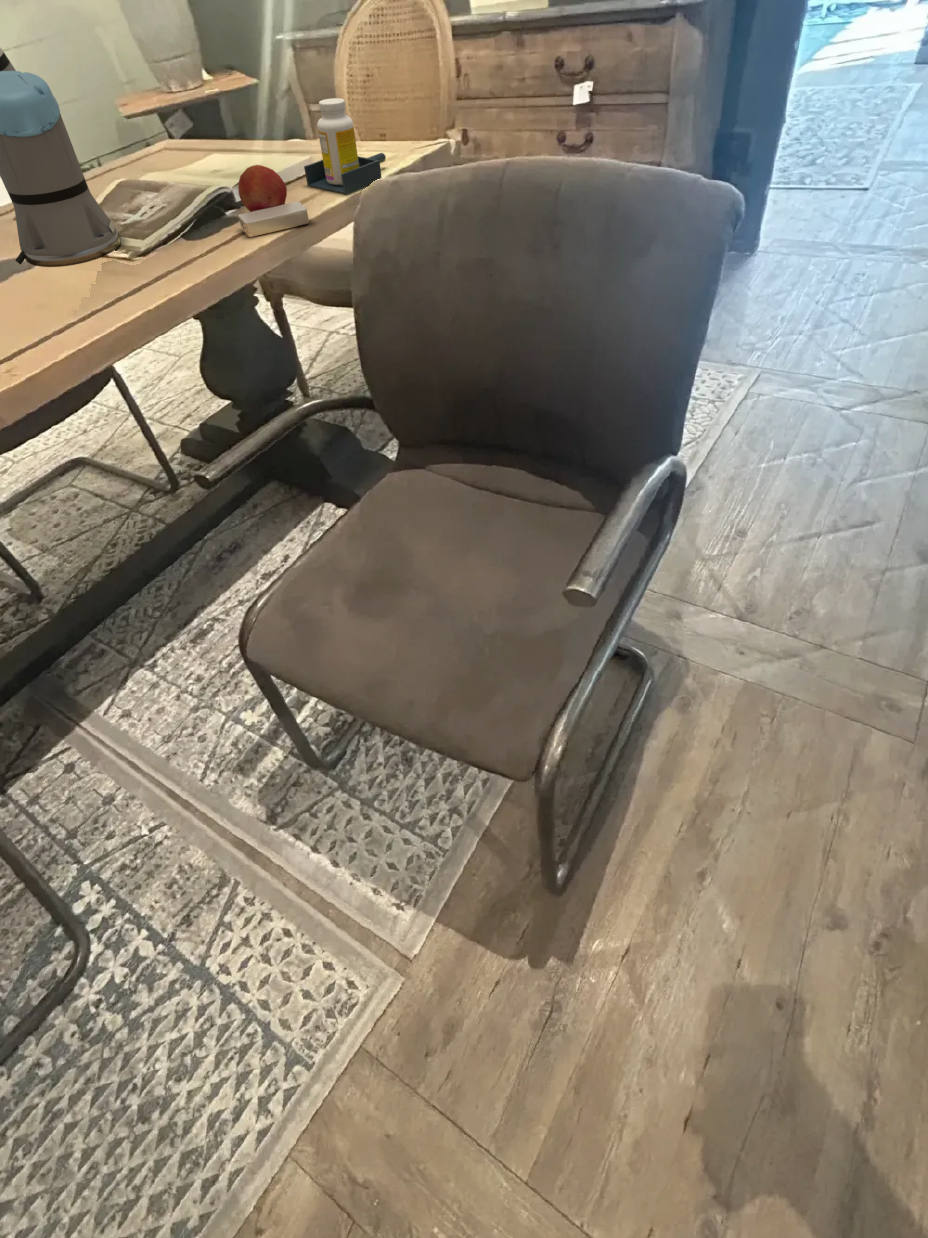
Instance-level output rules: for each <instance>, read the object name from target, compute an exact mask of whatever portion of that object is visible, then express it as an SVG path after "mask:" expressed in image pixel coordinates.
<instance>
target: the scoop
mask: <svg viewBox="0 0 928 1238" xmlns="http://www.w3.org/2000/svg"><path fill="white" fill-rule="evenodd" d="M386 159H387V157H386V154H385V153H384V152H379V153H377V154H374V155H371V156H369V157H365V156H364V157H363V156H358V162H359V167H358V168H356V169H353V170H351V171H348V172H345V173H343V174H341V176H342V183H343V185H332V184H329V183H328V182H327V180H326V175H325V169H324V163H323V159H321V160H318V161H315V162H312V163H309V164H307V165H304V166H303V169H304V174H305V180H306V185H307V187H309V188H314V189H317V190H322V191H327V192H331V193H336V194H339V195H346V196H347V195H349V194H352V193H354V192H357V191H359V190H362V189H365V188H367V187H369V186H370V185H369V184H371V183H372V182H373V181H375V180H377V179H380V180H381V179H383V178H382V169H381V164H382V163H384V162H385V161H386ZM368 185H369V186H368Z"/></svg>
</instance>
